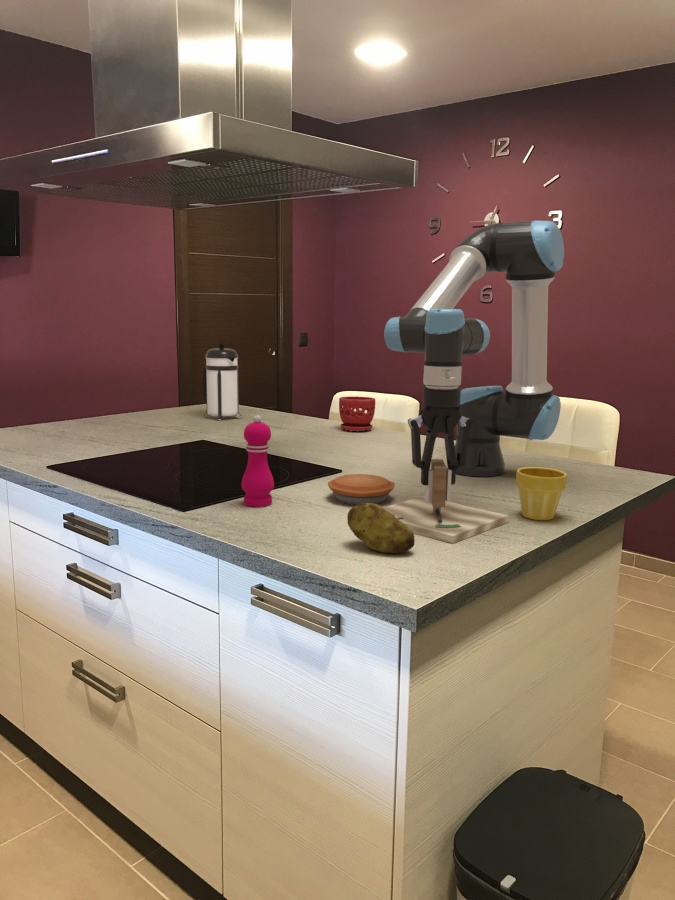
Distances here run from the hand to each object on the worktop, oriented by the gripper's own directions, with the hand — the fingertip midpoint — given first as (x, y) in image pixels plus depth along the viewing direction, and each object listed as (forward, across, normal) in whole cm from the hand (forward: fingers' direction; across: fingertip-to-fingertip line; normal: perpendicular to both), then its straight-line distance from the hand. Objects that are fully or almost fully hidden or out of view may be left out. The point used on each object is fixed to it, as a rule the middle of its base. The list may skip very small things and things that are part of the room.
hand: (437, 499), depth 150 cm
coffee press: (+5, -40, +150) cm, 155 cm away
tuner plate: (+5, 0, 0) cm, 5 cm away
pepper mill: (+5, -36, +19) cm, 41 cm away
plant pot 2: (+5, +23, 0) cm, 23 cm away
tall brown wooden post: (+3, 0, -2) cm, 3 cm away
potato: (+5, -16, -15) cm, 23 cm away
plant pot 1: (+5, +8, +115) cm, 115 cm away
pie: (+5, -12, +20) cm, 24 cm away
